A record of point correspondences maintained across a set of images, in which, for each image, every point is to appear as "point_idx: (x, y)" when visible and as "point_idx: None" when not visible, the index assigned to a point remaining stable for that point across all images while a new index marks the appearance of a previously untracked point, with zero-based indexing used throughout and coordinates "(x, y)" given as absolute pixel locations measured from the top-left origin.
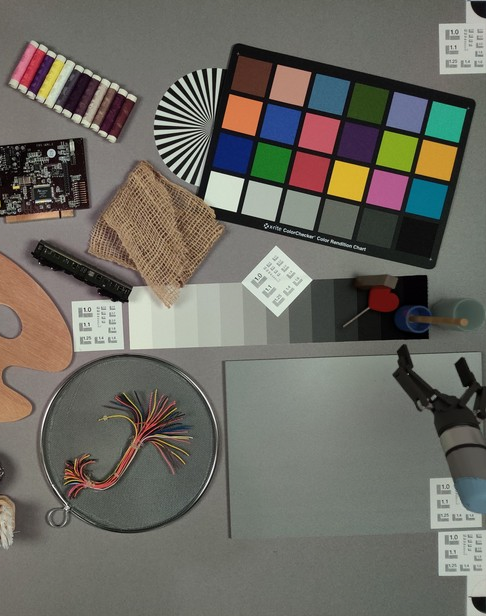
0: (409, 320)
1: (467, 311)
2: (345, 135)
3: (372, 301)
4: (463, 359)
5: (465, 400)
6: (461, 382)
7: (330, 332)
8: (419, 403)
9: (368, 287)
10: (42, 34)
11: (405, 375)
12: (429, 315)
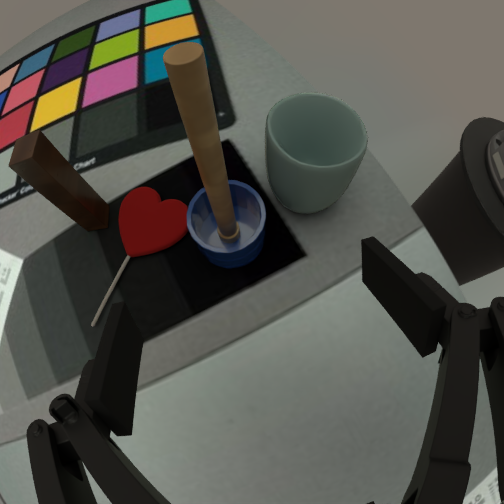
0: (222, 234)
1: (325, 139)
2: (50, 73)
3: (127, 238)
4: (370, 244)
5: None
6: (409, 339)
7: (80, 350)
8: None
9: (72, 209)
10: None
11: (37, 463)
12: (250, 193)
